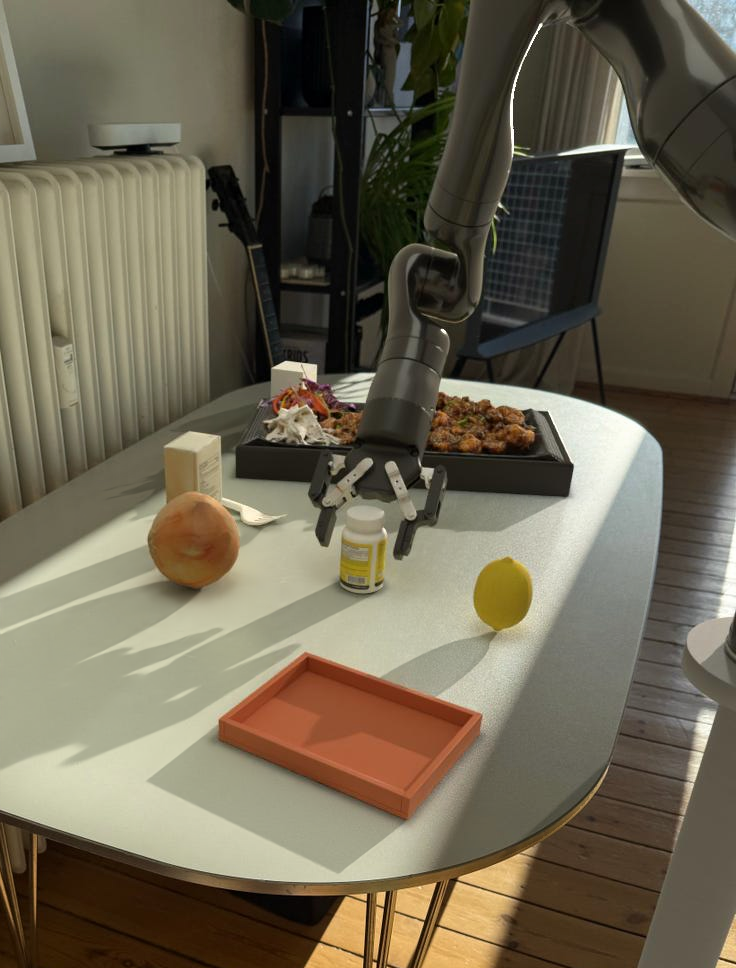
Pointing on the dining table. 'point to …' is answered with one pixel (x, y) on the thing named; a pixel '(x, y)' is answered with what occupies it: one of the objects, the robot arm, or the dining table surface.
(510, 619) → the lemon
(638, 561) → the dining table surface
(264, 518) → the fork
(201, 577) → the onion
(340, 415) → the food platter
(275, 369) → the off-white cube
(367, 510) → the supplement bottle
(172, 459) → the cosmetic box
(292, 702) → the tray
